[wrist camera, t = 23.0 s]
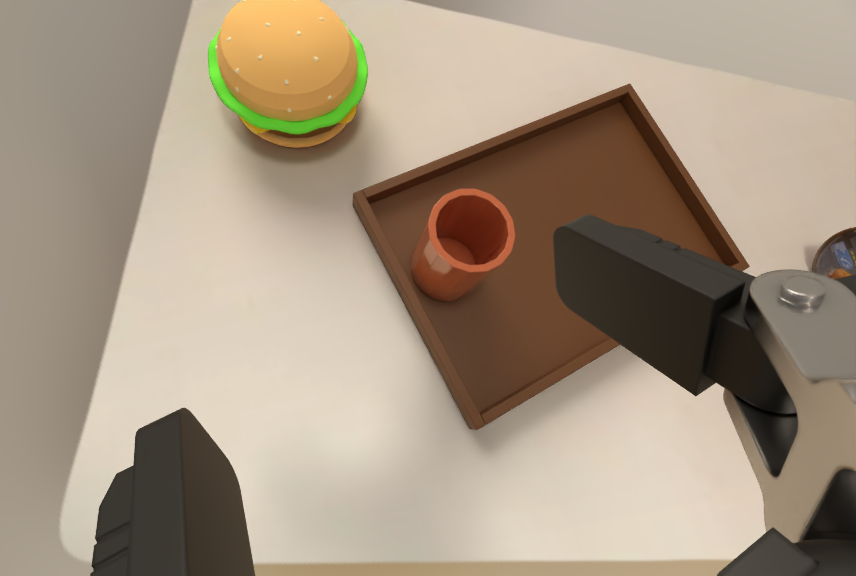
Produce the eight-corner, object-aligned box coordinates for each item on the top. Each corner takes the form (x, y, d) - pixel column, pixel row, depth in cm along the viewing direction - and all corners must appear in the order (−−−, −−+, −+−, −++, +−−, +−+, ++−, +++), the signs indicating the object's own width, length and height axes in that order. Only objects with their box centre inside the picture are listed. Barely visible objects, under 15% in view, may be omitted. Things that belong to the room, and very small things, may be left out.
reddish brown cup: (430, 313, 37) (455, 286, 28) (398, 251, 37) (413, 207, 29) (491, 283, 38) (530, 250, 30) (458, 224, 39) (488, 176, 31)
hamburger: (378, 152, 40) (388, 86, 32) (235, 172, 37) (204, 106, 29) (349, 38, 42) (350, -51, 34) (212, 49, 40) (178, -45, 31)
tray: (469, 429, 35) (476, 430, 33) (352, 204, 38) (352, 193, 36) (731, 272, 43) (750, 266, 41) (617, 96, 46) (630, 82, 44)
